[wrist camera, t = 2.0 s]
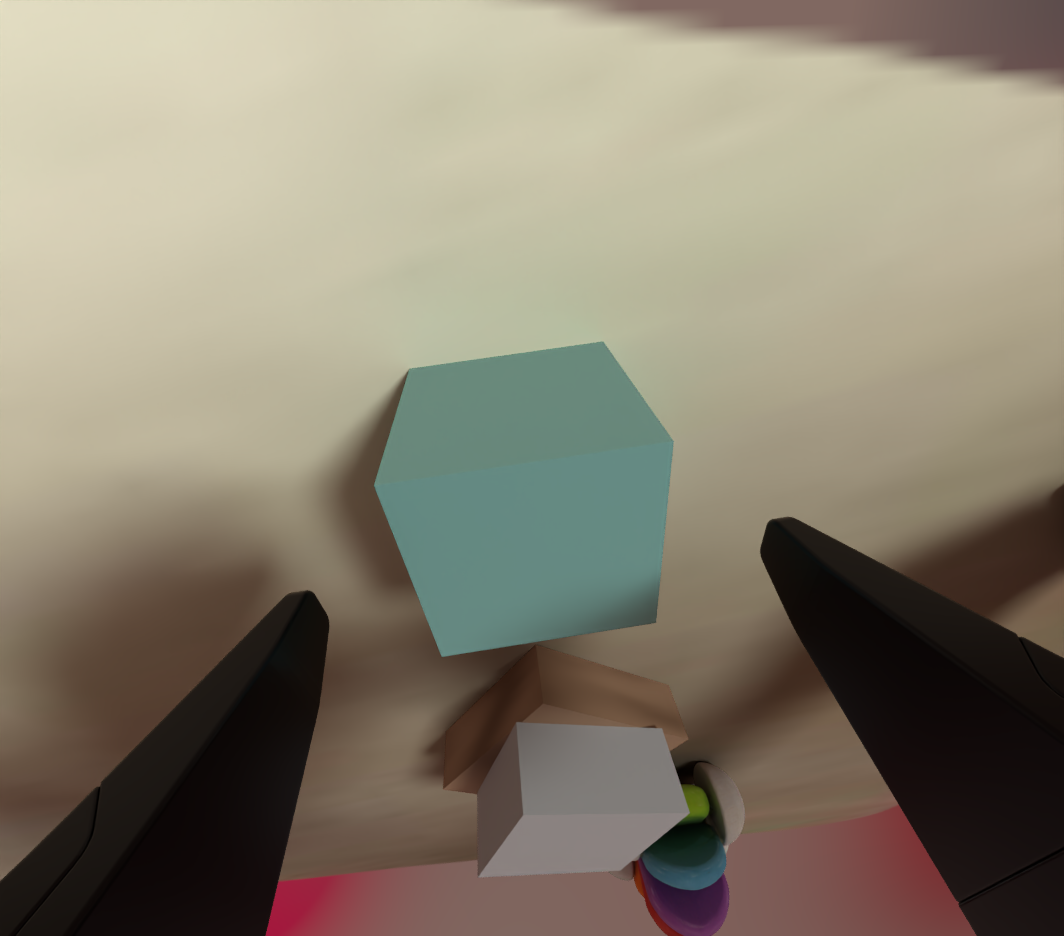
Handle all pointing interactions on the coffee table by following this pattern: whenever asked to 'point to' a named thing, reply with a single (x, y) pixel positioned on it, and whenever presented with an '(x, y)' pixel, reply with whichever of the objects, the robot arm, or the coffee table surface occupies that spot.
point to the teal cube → (527, 497)
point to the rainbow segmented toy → (692, 858)
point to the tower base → (553, 709)
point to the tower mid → (575, 799)
